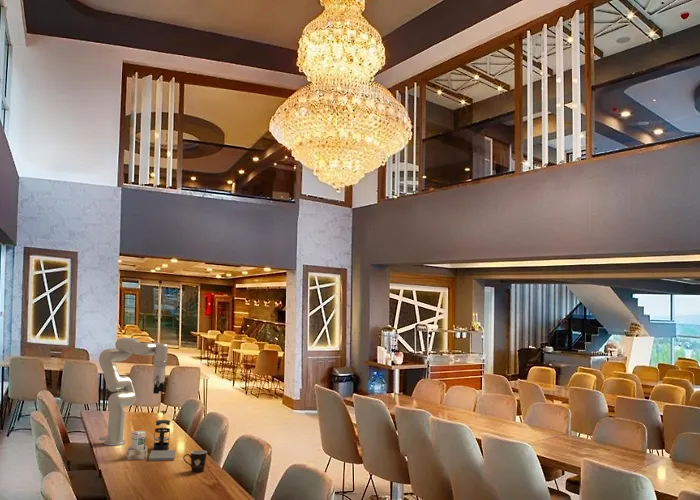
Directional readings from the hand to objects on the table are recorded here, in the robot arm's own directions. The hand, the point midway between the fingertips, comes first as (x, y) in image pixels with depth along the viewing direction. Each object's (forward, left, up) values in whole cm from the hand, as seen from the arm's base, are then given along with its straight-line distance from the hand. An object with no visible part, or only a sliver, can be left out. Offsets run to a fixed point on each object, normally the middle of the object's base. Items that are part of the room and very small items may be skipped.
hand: (158, 392), depth 353 cm
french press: (+4, +6, -35) cm, 36 cm away
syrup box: (-8, -13, -35) cm, 39 cm away
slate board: (+6, -13, -35) cm, 38 cm away
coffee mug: (+25, -44, -35) cm, 62 cm away
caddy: (-8, -13, -35) cm, 38 cm away
